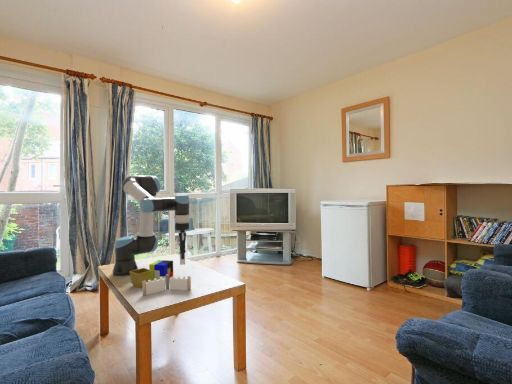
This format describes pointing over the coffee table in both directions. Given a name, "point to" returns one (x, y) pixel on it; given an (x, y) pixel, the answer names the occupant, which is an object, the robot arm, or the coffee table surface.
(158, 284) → the fence fixed
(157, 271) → the puzzle toy
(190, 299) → the coffee table surface
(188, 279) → the fence wing
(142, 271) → the flower pot
